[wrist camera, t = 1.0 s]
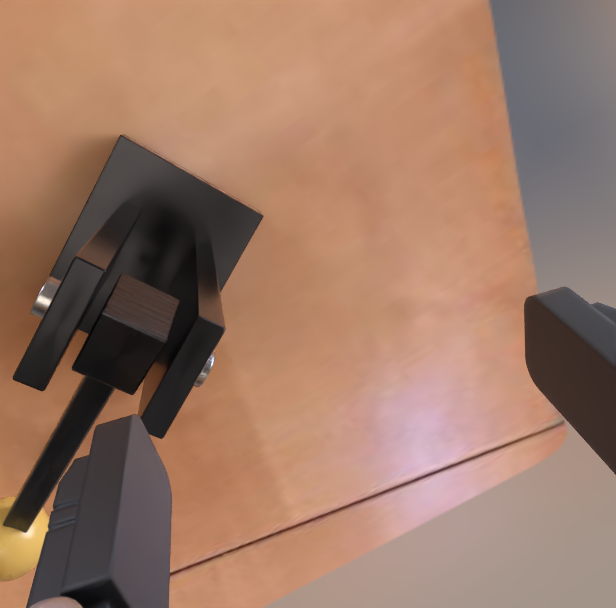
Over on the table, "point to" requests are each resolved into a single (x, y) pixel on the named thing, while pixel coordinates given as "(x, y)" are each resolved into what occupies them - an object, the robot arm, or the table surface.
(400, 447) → the table surface
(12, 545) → the latch lever
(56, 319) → the latch bracket
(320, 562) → the table surface
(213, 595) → the table surface
